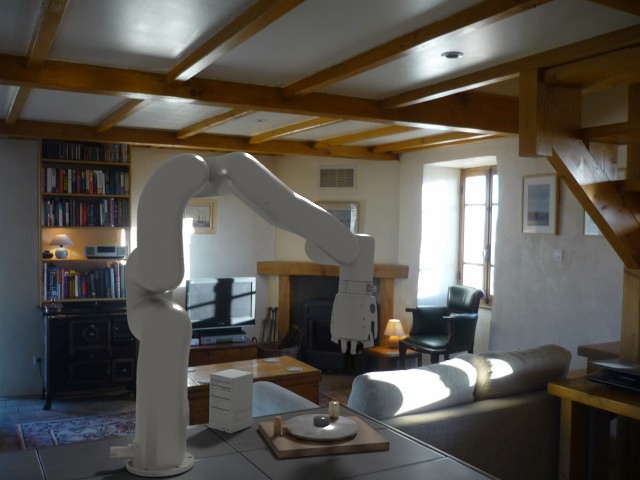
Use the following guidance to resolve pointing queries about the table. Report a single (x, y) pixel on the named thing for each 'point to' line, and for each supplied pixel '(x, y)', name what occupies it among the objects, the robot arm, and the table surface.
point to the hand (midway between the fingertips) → (350, 370)
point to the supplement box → (231, 400)
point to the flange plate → (321, 426)
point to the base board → (297, 447)
